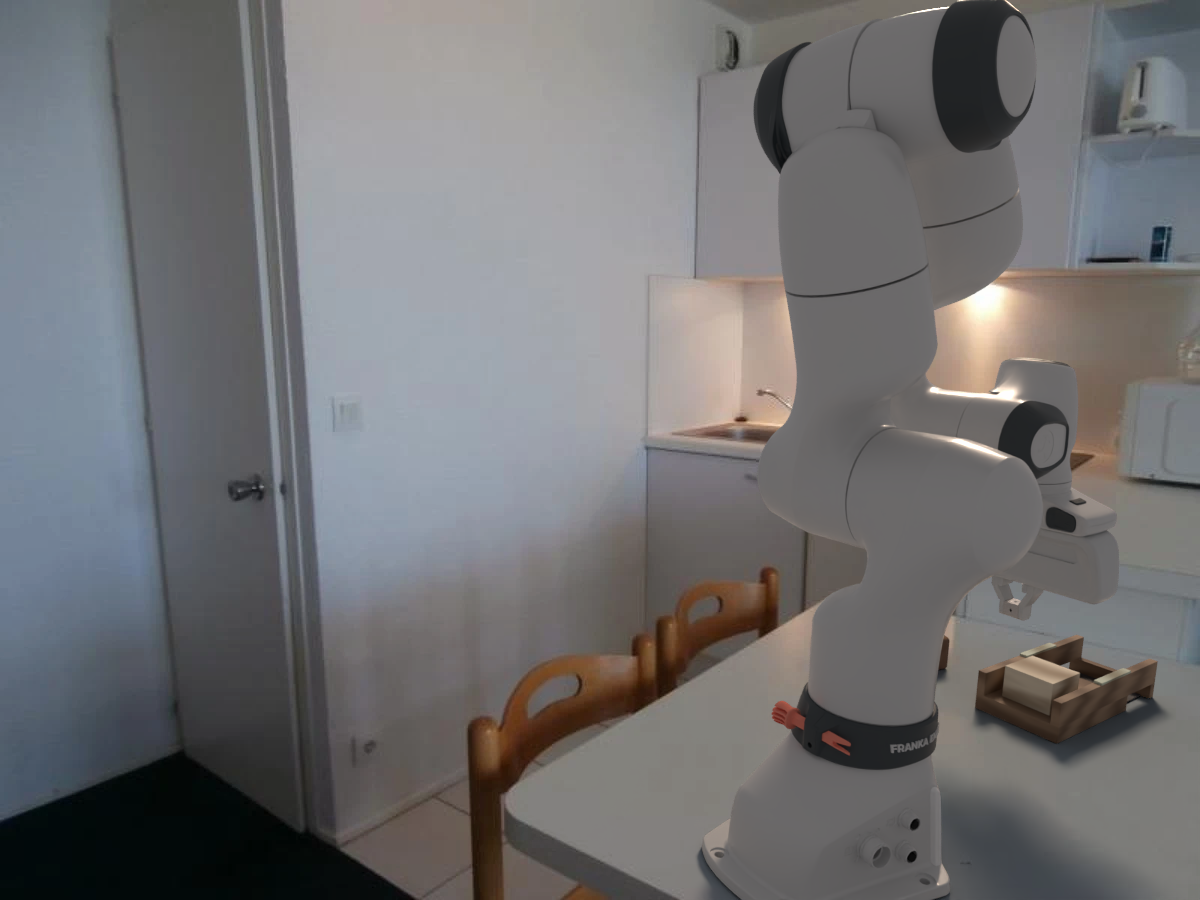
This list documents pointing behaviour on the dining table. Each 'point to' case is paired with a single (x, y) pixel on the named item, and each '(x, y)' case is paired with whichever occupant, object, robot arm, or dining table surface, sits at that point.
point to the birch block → (1038, 683)
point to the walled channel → (1077, 710)
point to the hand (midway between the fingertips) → (1014, 616)
